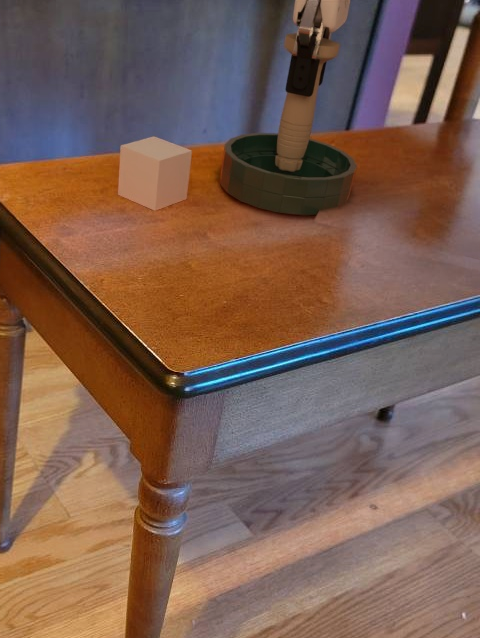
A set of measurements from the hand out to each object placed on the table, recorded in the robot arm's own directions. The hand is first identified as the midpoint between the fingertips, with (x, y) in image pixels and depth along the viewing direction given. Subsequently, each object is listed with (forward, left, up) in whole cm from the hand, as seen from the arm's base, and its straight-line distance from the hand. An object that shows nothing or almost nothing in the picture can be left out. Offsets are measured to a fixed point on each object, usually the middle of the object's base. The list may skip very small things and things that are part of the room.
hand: (304, 86), depth 88 cm
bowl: (0, 0, -13) cm, 13 cm away
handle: (0, 0, -10) cm, 10 cm away
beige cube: (+14, +11, -13) cm, 22 cm away
